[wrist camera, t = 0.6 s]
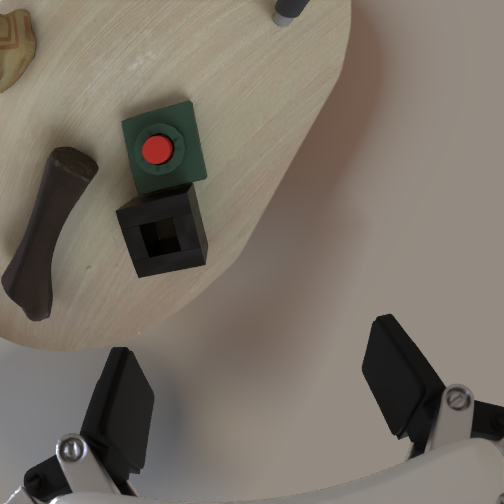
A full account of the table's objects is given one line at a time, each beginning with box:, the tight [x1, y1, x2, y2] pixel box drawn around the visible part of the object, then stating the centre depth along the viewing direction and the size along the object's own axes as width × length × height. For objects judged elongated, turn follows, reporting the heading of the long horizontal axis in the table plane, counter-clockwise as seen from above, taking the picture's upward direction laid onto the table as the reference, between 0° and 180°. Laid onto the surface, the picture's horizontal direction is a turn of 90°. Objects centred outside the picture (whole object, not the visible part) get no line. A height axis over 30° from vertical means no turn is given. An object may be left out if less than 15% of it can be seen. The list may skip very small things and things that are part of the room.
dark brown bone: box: [1, 147, 99, 321], centre depth 32 cm, size 11×10×28 cm
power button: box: [142, 136, 173, 164], centre depth 28 cm, size 3×3×2 cm
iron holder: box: [116, 184, 208, 278], centre depth 34 cm, size 9×9×6 cm
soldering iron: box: [273, 0, 310, 26], centre depth 21 cm, size 3×3×11 cm
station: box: [121, 101, 207, 195], centre depth 31 cm, size 10×9×4 cm
